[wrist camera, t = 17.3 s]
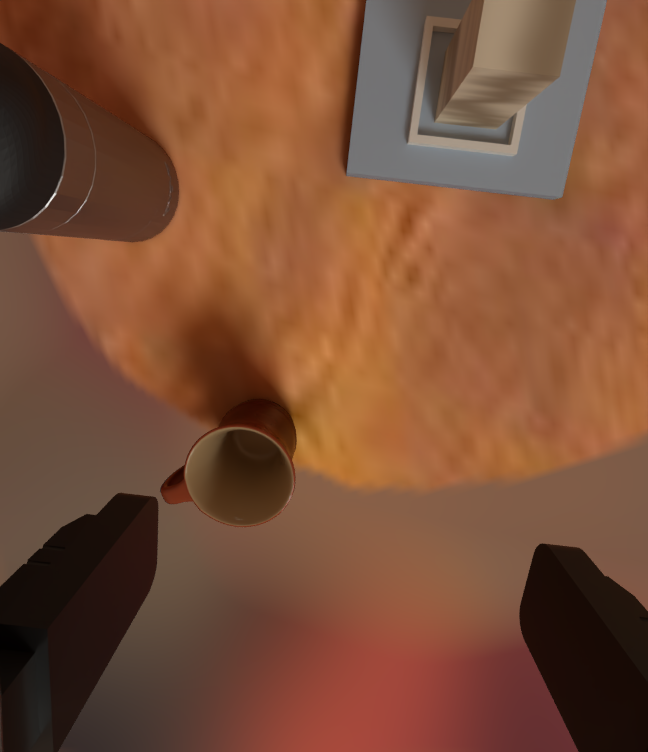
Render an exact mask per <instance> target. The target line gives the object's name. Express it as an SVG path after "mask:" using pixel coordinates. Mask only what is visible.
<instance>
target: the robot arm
mask: <svg viewBox="0 0 648 752" xmlns="http://www.w3.org/2000/svg"><path fill="white" fill-rule="evenodd" d="M178 198H179V185H178V179H177V175H176V171H175V169H174V166H173V164H172V162H171V160H170V158H169V157H168V156H167V154H166V153H165V152H164V150H163V149H162V148H161V147H160V146H159V145H158V144H157V143H155V142H154V141H153V140H152V139H150V138H149V137H147V136H145V135H144V134H142V133H141V132H139V131H138V130H136V129H135V128H133V127H132V126H130V125H129V124H127V123H126V122H124V121H123V120H121V119H119V118H118V117H116V116H115V115H113V114H112V113H110V112H108V111H107V110H105V109H104V108H102V107H101V106H99V105H97V104H96V103H94V102H93V101H91V100H90V99H88V98H86V97H85V96H83V95H82V94H80V93H79V92H77V91H76V90H74V89H72V88H71V87H69V86H68V85H66V84H65V83H63V82H61V81H60V80H58V79H57V78H55V77H54V76H52V75H50V74H49V73H47V72H45V71H44V70H42V69H41V68H39V67H37V66H36V65H34V64H33V63H31V62H30V61H28V60H26V59H25V58H23V57H22V56H20V55H19V54H17V53H16V52H14V51H12V50H11V49H9V48H7V47H6V46H4V45H3V44H1V43H0V231H1V232H14V233H28V234H40V235H53V236H65V237H77V238H89V239H101V240H111V241H124V242H138V241H144V240H147V239H150V238H152V237H154V236H156V235H157V234H159V233H160V232H162V231H163V230H164V229H165V228H166V227H167V226H168V224H169V223H170V221H171V219H172V218H173V216H174V214H175V211H176V208H177V205H178ZM157 544H158V501H157V499H156V497H151V496H143V495H134V494H125V493H118V494H116V495H115V496H114V497H113V498H112V499H111V500H110V501H109V502H108V503H107V505H106V506H105V507H104V508H103V509H102V510H101V511H100V512H99V513H98V514H97V515H90V514H86V515H84V516H82V517H80V518H78V519H76V520H75V521H73V522H71V523H69V524H67V525H65V526H63V527H61V528H60V529H59V530H58V531H57V532H56V534H54V535H53V536H52V537H51V538H50V539H49V540H48V541H47V542H46V543H45V544H44V545H43V548H42V549H39V550H38V551H37V552H36V553H34V555H33V556H31V557H30V558H29V559H28V562H27V564H23V565H22V566H21V567H20V568H19V569H18V570H17V571H16V572H15V573H14V574H13V575H12V576H11V577H10V578H9V579H8V580H7V581H6V582H5V583H3V585H1V586H0V752H58V751H59V749H60V747H61V745H62V744H63V742H64V740H65V739H66V737H67V735H68V733H69V732H70V730H71V728H72V726H73V725H74V723H75V721H76V719H77V718H78V715H79V714H80V712H81V710H82V709H83V707H84V705H85V703H86V702H87V700H88V698H89V696H90V695H91V693H92V691H93V689H94V688H95V686H96V684H97V683H98V681H99V679H100V677H101V675H102V674H103V672H104V670H105V668H106V667H107V665H108V663H109V661H110V660H111V658H112V656H113V654H114V653H115V651H116V649H117V647H118V646H119V644H120V642H121V640H122V638H123V637H124V635H125V633H126V632H127V630H128V628H129V626H130V625H131V623H132V621H133V619H134V618H135V616H136V614H137V612H138V610H139V609H140V607H141V605H142V604H143V602H144V600H145V598H146V596H147V595H148V593H149V591H150V589H151V586H152V583H153V580H154V576H155V571H156V566H157ZM520 626H521V631H522V635H523V638H524V640H525V642H526V644H527V646H528V648H529V651H530V653H531V655H532V657H533V659H534V661H535V663H536V665H537V667H538V669H539V671H540V673H541V675H542V677H543V679H544V681H545V683H546V685H547V688H548V690H549V692H550V694H551V696H552V698H553V699H554V702H555V704H556V706H557V708H558V710H559V712H560V714H561V716H562V718H563V721H564V723H565V725H566V727H567V729H568V731H569V733H570V735H571V737H572V739H573V741H574V743H575V745H576V747H577V749H578V751H579V752H648V611H647V610H646V609H645V608H644V607H643V605H642V604H641V603H640V602H639V601H638V600H637V599H636V597H635V596H633V595H632V594H631V593H629V592H628V591H627V590H625V589H624V588H623V587H621V586H620V585H619V584H617V583H616V582H615V581H613V580H612V579H611V578H609V577H607V576H604V575H603V573H602V572H601V571H600V570H599V569H598V568H597V566H596V565H595V564H594V563H593V562H592V560H591V559H590V558H589V557H588V556H587V554H586V553H585V552H584V551H583V550H581V549H580V548H577V547H567V546H560V545H550V544H540V545H538V546H537V548H536V549H535V552H534V555H533V559H532V563H531V566H530V570H529V574H528V578H527V581H526V586H525V589H524V593H523V597H522V601H521V605H520Z"/></svg>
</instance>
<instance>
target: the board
mask: <svg viewBox="0 0 648 752" xmlns="http://www.w3.org/2000/svg"><path fill="white" fill-rule="evenodd" d="M470 2H471V0H366V8H365V17H364V25H363V34H362V43H361V52H360V60H359V69H358V78H357V87H356V95H355V104H354V113H353V121H352V130H351V139H350V148H349V156H348V165H347V174H346V176H352V177H361V178H369V179H378V180H387V181H396V182H404V183H413V184H422V185H431V186H439V187H448V188H457V189H466V190H474V191H483V192H492V193H501V194H509V195H518V196H527V197H536V198H545V199H553V200H554V199H558V198H561V197H562V195H563V191H564V187H565V182H566V178H567V174H568V169H569V165H570V160H571V156H572V152H573V147H574V143H575V138H576V134H577V130H578V125H579V121H580V116H581V112H582V108H583V103H584V99H585V94H586V90H587V86H588V81H589V77H590V73H591V68H592V64H593V59H594V55H595V51H596V46H597V42H598V37H599V33H600V29H601V24H602V20H603V15H604V11H605V7H606V2H607V0H576V3H575V8H574V12H573V17H572V22H571V26H570V31H569V36H568V41H567V45H566V50H565V55H564V59H563V64H562V69H561V74H560V77H559V78H558V79H556V80H555V81H554V82H553V83H552V84H550V85H549V86H548V87H547V88H546V89H544V90H543V91H542V92H541V93H540V94H538V95H537V96H536V97H535V98H533V99H532V100H531V101H530V102H529V103H527V104H526V105H525V106H524V107H523V108H521V109H520V110H519V111H518V112H517V113H515V114H514V115H513V116H512V117H511V118H509V119H508V120H507V121H506V122H505V123H503V124H502V125H501V126H500V127H498V128H497V129H487V128H478V127H469V126H460V125H451V124H442V123H434V122H435V115H436V109H437V102H438V96H439V89H440V83H441V76H442V70H443V63H444V57H445V51H446V49H447V48H448V46H449V44H450V42H451V40H452V38H453V36H454V34H455V32H456V30H457V28H458V26H459V24H460V22H461V20H462V18H463V16H464V14H465V12H466V10H467V8H468V6H469V4H470Z"/></svg>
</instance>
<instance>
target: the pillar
mask: <svg viewBox="0 0 648 752" xmlns="http://www.w3.org/2000/svg"><path fill="white" fill-rule="evenodd" d="M575 3H576V0H471V2H470V4H469V6H468V8H467V10H466V12H465V14H464V16H463V18H462V20H461V22H460V24H459V26H458V28H457V30H456V32H455V34H454V36H453V38H452V40H451V42H450V44H449V46H448V48H447V49H446V51H445V57H444V63H443V70H442V76H441V83H440V89H439V96H438V102H437V109H436V115H435V122H434V123H442V124H451V125H460V126H469V127H478V128H487V129H497V128H498V127H500V126H501V125H502V124H503V123H505V122H506V121H507V120H508V119H509V118H511V117H512V116H513V115H514V114H515V113H517V112H518V111H519V110H520V109H521V108H523V107H524V106H525V105H526V104H527V103H529V102H530V101H531V100H532V99H533V98H535V97H536V96H537V95H538V94H540V93H541V92H542V91H543V90H544V89H546V88H547V87H548V86H549V85H550V84H552V83H553V82H554V81H555V80H556V79H558V78H559V77H560V74H561V69H562V64H563V59H564V55H565V50H566V45H567V41H568V36H569V31H570V26H571V22H572V17H573V12H574V8H575Z"/></svg>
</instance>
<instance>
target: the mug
mask: <svg viewBox="0 0 648 752" xmlns="http://www.w3.org/2000/svg"><path fill="white" fill-rule="evenodd" d="M296 442H297V439H296V430H295V426H294V423H293V421H292V419H291V417H290V415H289V414H288V413H287V411H286V410H285V409H284V408H282V407H281V406H280V405H278V404H276V403H274V402H272V401H269V400H264V399H253V400H248V401H245V402H243V403H241V404H240V405H238V406H236V407H234V408H233V409H231V410H230V411H229V412H228V413H227V414H226V415H225V416H224V418H223V419H222V421H221V423H220V424H219V426H218V427H217V428H215V429H213V430H211V431H209V432H207V433H206V434H204V435H203V436H202V437H201V438H199V439H198V440H197V441H196V443H195V444H194V445H193V446H192V448H191V450H190V451H189V453H188V456H187V459H186V462H185V465H184V466H182V467H181V468H179V469H178V470H176V471H175V472H174V473H173V474H172V475H170V476H169V477H168V478H167V479H166V480H165V482H164V483H163V484H162V486H161V489H160V492H161V494H162V497H163V499H164V500H165V502H166V503H168V504H178V503H182V502H188V501H193V502H194V503H195V505H196V506H197V507H198V509H199V510H200V511H201V512H203V513H204V514H205V515H207V516H209V517H210V518H212V519H214V520H216V521H218V522H220V523H223V524H226V525H230V526H235V527H251V526H256V525H260V524H263V523H266V522H268V521H270V520H271V519H273V518H274V517H276V516H277V515H279V514H280V513H281V512H282V511H283V509H285V507H286V506H287V505H288V503H289V501H290V500H291V497H292V495H293V492H294V488H295V469H294V465H293V462H292V458H293V455H294V452H295V449H296Z"/></svg>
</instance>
